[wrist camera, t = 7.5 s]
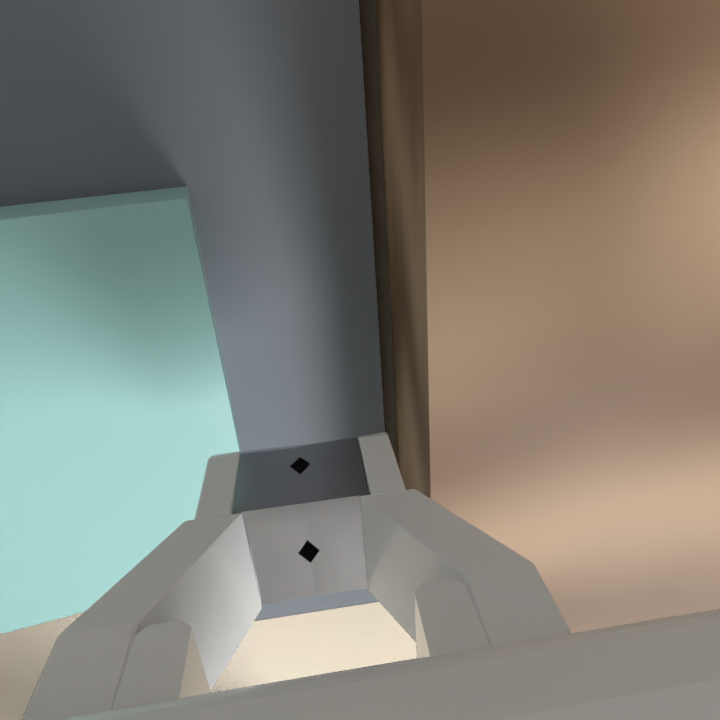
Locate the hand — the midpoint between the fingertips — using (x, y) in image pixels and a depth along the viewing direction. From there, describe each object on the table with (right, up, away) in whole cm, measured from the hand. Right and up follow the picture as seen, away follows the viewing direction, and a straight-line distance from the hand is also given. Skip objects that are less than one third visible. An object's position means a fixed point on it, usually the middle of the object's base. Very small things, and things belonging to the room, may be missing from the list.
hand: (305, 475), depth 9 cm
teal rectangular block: (-5, 0, +2) cm, 5 cm away
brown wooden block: (+6, +3, +5) cm, 9 cm away
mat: (-3, +2, +4) cm, 6 cm away
